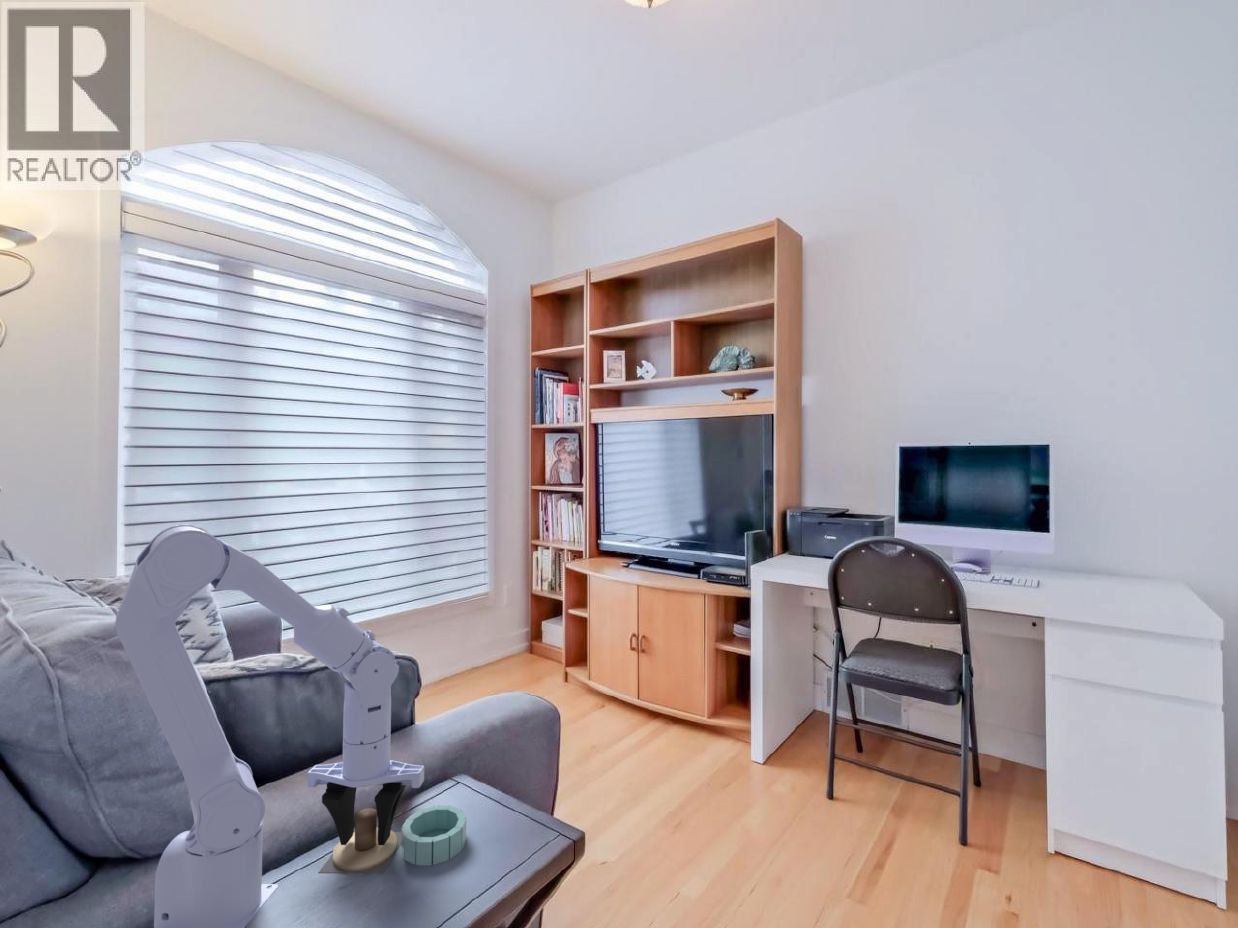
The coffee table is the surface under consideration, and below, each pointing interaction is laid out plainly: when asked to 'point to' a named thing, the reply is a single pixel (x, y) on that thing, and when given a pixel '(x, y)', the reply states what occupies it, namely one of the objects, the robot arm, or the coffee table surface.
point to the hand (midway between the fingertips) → (365, 840)
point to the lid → (364, 845)
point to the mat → (380, 868)
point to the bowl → (433, 835)
